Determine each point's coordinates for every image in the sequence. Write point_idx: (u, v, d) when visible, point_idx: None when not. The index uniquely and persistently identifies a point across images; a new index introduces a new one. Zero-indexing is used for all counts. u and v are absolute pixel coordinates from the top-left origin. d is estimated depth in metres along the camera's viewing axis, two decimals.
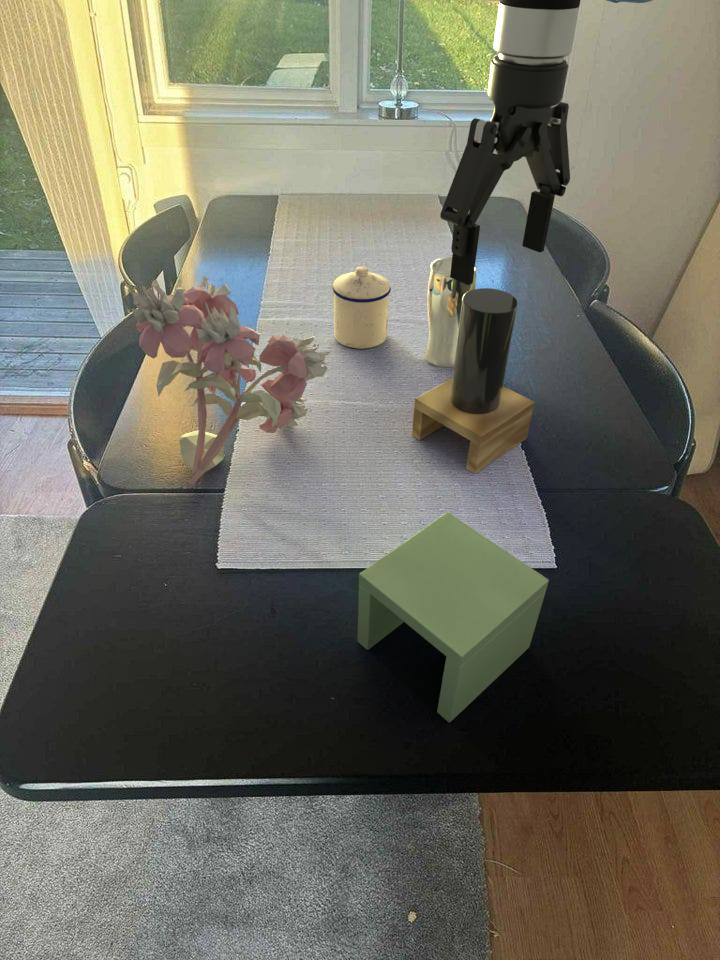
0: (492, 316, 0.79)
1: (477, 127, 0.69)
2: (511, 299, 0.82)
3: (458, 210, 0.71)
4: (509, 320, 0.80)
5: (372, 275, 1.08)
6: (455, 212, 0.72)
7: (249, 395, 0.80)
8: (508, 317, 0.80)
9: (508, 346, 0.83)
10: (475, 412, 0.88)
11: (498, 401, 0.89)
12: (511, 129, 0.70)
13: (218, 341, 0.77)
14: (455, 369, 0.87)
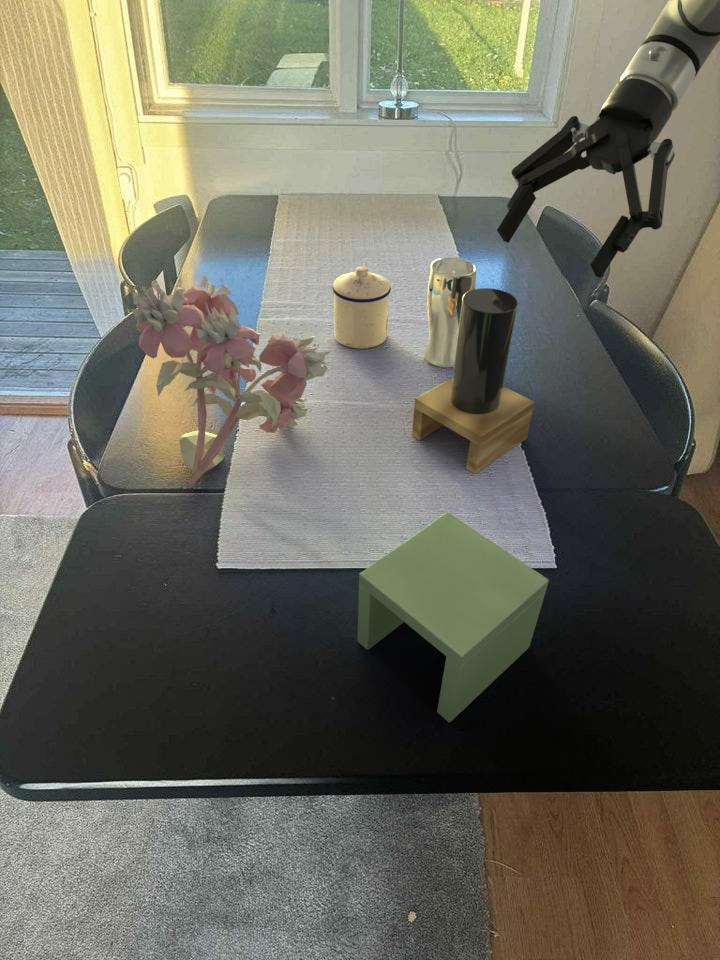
0: (492, 316, 0.79)
1: (672, 149, 0.80)
2: (511, 299, 0.82)
3: (662, 216, 0.80)
4: (509, 320, 0.80)
5: (372, 275, 1.08)
6: None
7: (249, 395, 0.80)
8: (508, 317, 0.80)
9: (508, 346, 0.83)
10: (475, 412, 0.88)
11: (498, 401, 0.89)
12: None
13: (218, 341, 0.77)
14: (455, 369, 0.87)
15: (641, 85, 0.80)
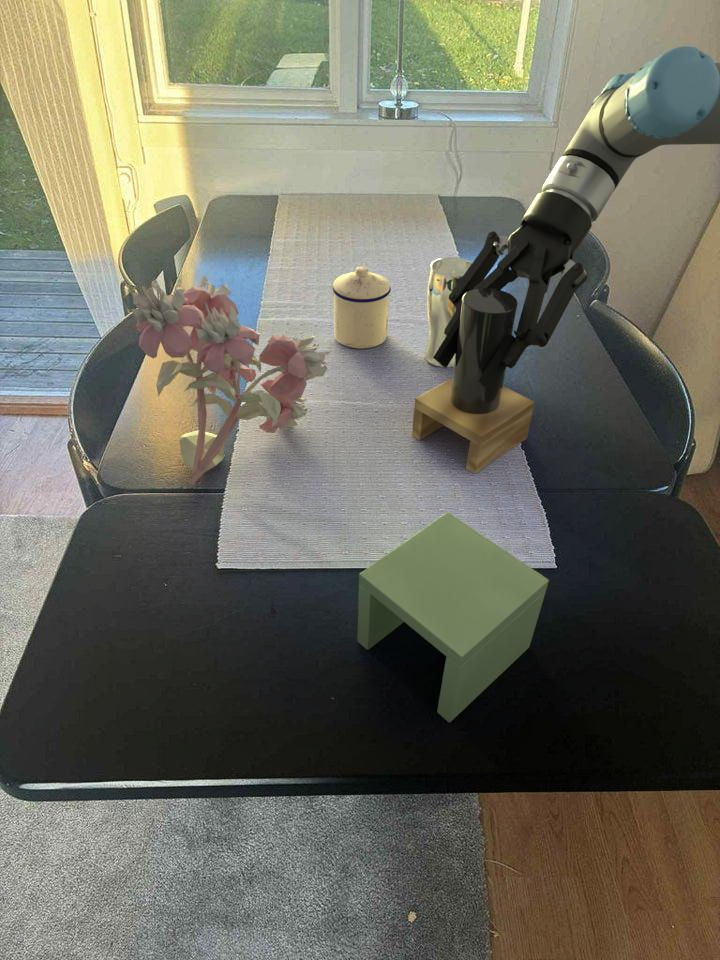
0: (492, 316, 0.79)
1: (582, 274, 0.80)
2: (511, 299, 0.82)
3: (549, 337, 0.81)
4: (509, 320, 0.80)
5: (372, 275, 1.08)
6: (544, 335, 0.81)
7: (249, 395, 0.80)
8: (508, 317, 0.80)
9: None
10: (475, 412, 0.88)
11: (498, 401, 0.89)
12: None
13: (218, 341, 0.77)
14: (455, 369, 0.87)
15: (559, 200, 0.80)
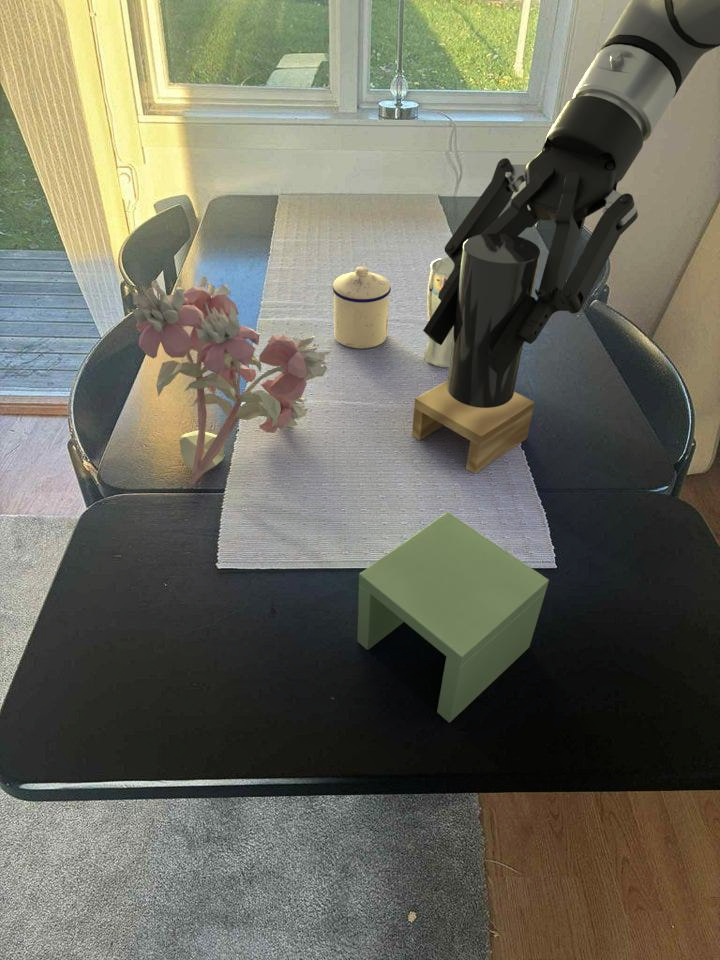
0: (505, 269, 0.56)
1: (631, 210, 0.57)
2: (531, 246, 0.59)
3: (584, 299, 0.58)
4: (529, 274, 0.57)
5: (372, 275, 1.08)
6: None
7: (249, 395, 0.80)
8: (528, 271, 0.57)
9: None
10: (481, 405, 0.65)
11: (512, 390, 0.65)
12: None
13: (218, 341, 0.77)
14: (453, 346, 0.64)
15: (598, 105, 0.57)
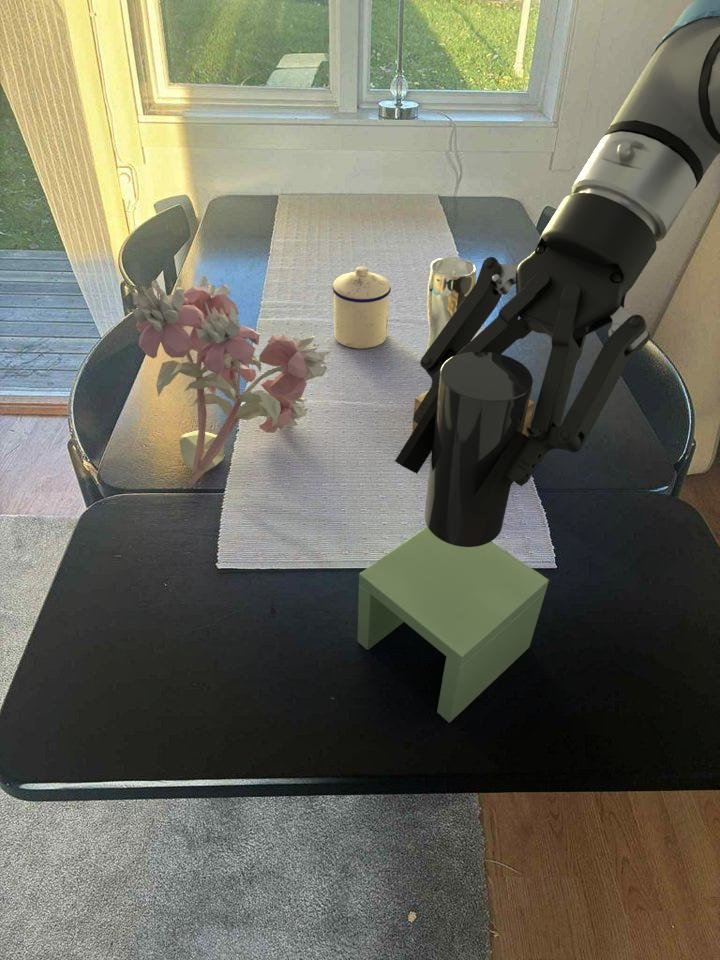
0: (490, 406, 0.46)
1: (643, 334, 0.47)
2: (522, 373, 0.49)
3: (585, 436, 0.49)
4: (520, 410, 0.48)
5: (372, 275, 1.08)
6: (577, 435, 0.48)
7: (249, 395, 0.80)
8: (518, 406, 0.47)
9: None
10: (463, 544, 0.55)
11: (500, 525, 0.56)
12: None
13: (218, 341, 0.77)
14: (431, 478, 0.54)
15: (603, 207, 0.47)
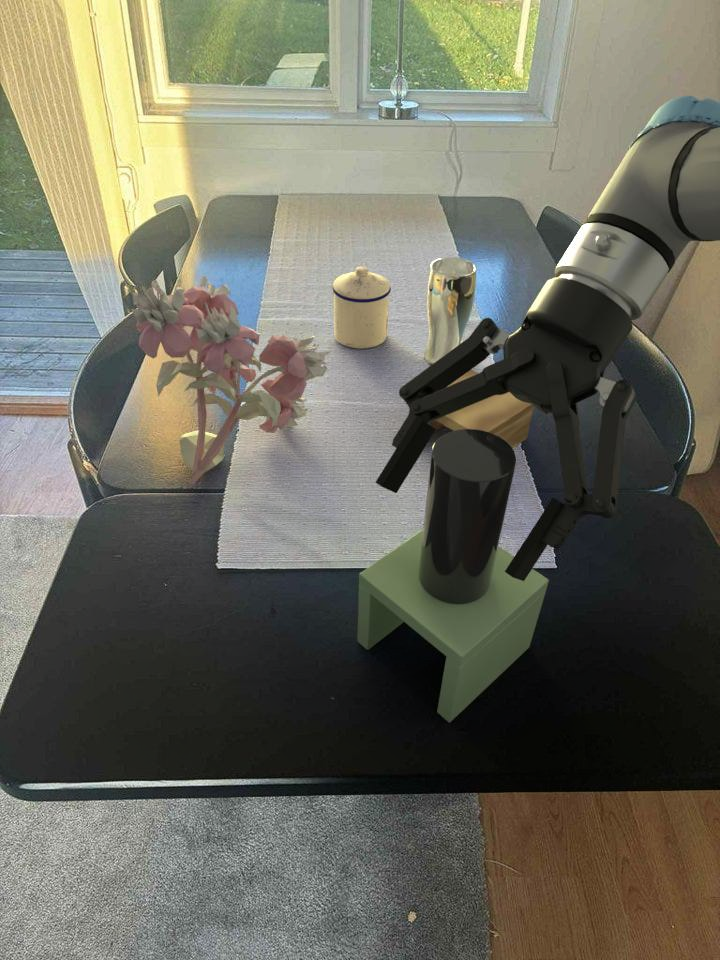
0: (477, 486, 0.51)
1: (631, 394, 0.51)
2: (506, 451, 0.53)
3: (616, 500, 0.51)
4: (504, 487, 0.52)
5: (372, 275, 1.08)
6: (611, 502, 0.51)
7: (249, 395, 0.80)
8: (502, 484, 0.52)
9: (502, 517, 0.55)
10: (454, 602, 0.60)
11: (488, 584, 0.60)
12: None
13: (218, 341, 0.77)
14: (424, 542, 0.58)
15: (583, 294, 0.51)
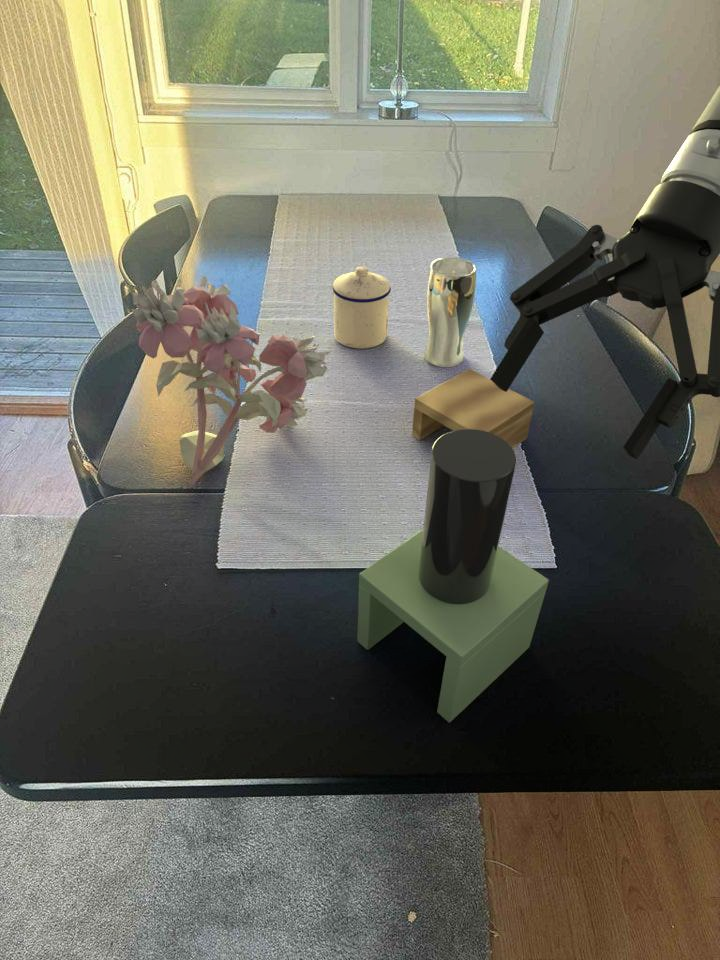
0: (477, 486, 0.51)
1: None
2: (506, 451, 0.53)
3: None
4: (504, 487, 0.52)
5: (372, 275, 1.08)
6: None
7: (249, 395, 0.80)
8: (502, 484, 0.52)
9: (502, 517, 0.55)
10: (454, 602, 0.60)
11: (488, 584, 0.60)
12: None
13: (218, 341, 0.77)
14: (424, 542, 0.58)
15: (695, 192, 0.56)
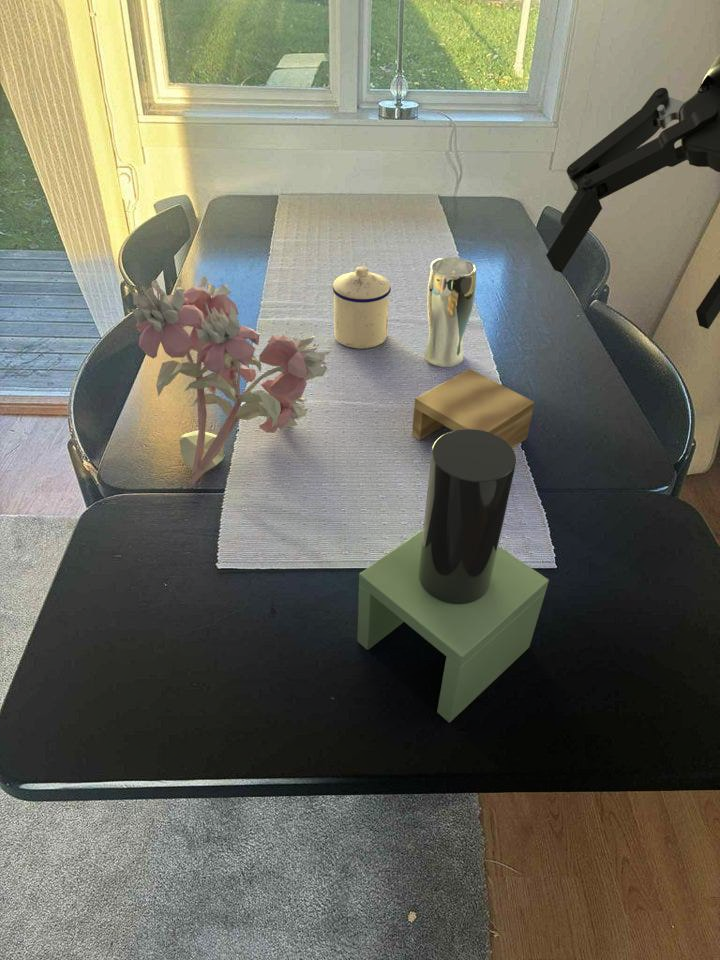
0: (477, 486, 0.51)
1: None
2: (506, 451, 0.53)
3: None
4: (504, 487, 0.52)
5: (372, 275, 1.08)
6: None
7: (249, 395, 0.80)
8: (502, 484, 0.52)
9: (502, 517, 0.55)
10: (454, 602, 0.60)
11: (488, 584, 0.60)
12: None
13: (218, 341, 0.77)
14: (424, 542, 0.58)
15: None
